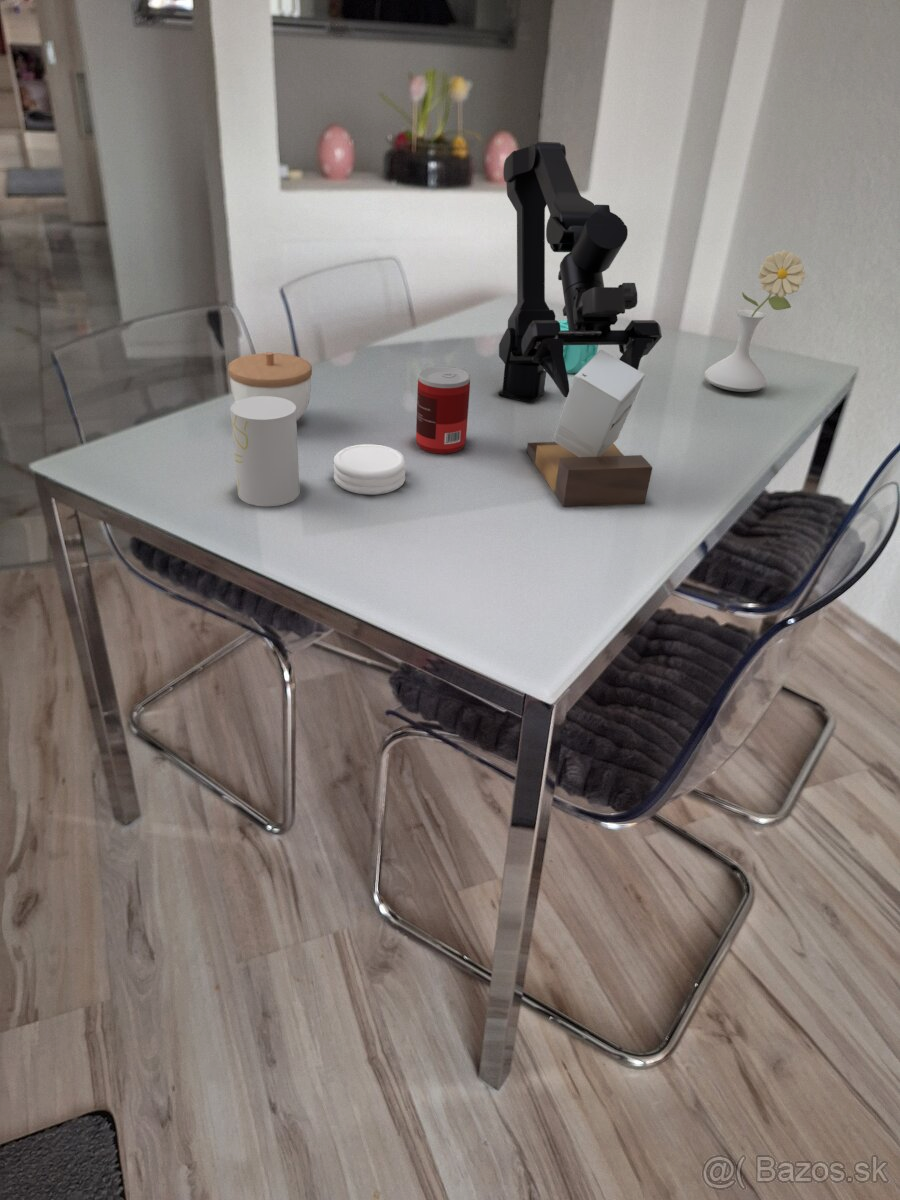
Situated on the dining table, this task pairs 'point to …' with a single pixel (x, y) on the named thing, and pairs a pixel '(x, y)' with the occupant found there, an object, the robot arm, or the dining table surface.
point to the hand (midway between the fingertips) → (599, 395)
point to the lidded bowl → (272, 378)
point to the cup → (265, 450)
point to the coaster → (369, 469)
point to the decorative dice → (576, 353)
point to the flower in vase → (738, 367)
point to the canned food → (442, 409)
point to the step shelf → (592, 475)
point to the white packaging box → (597, 405)
